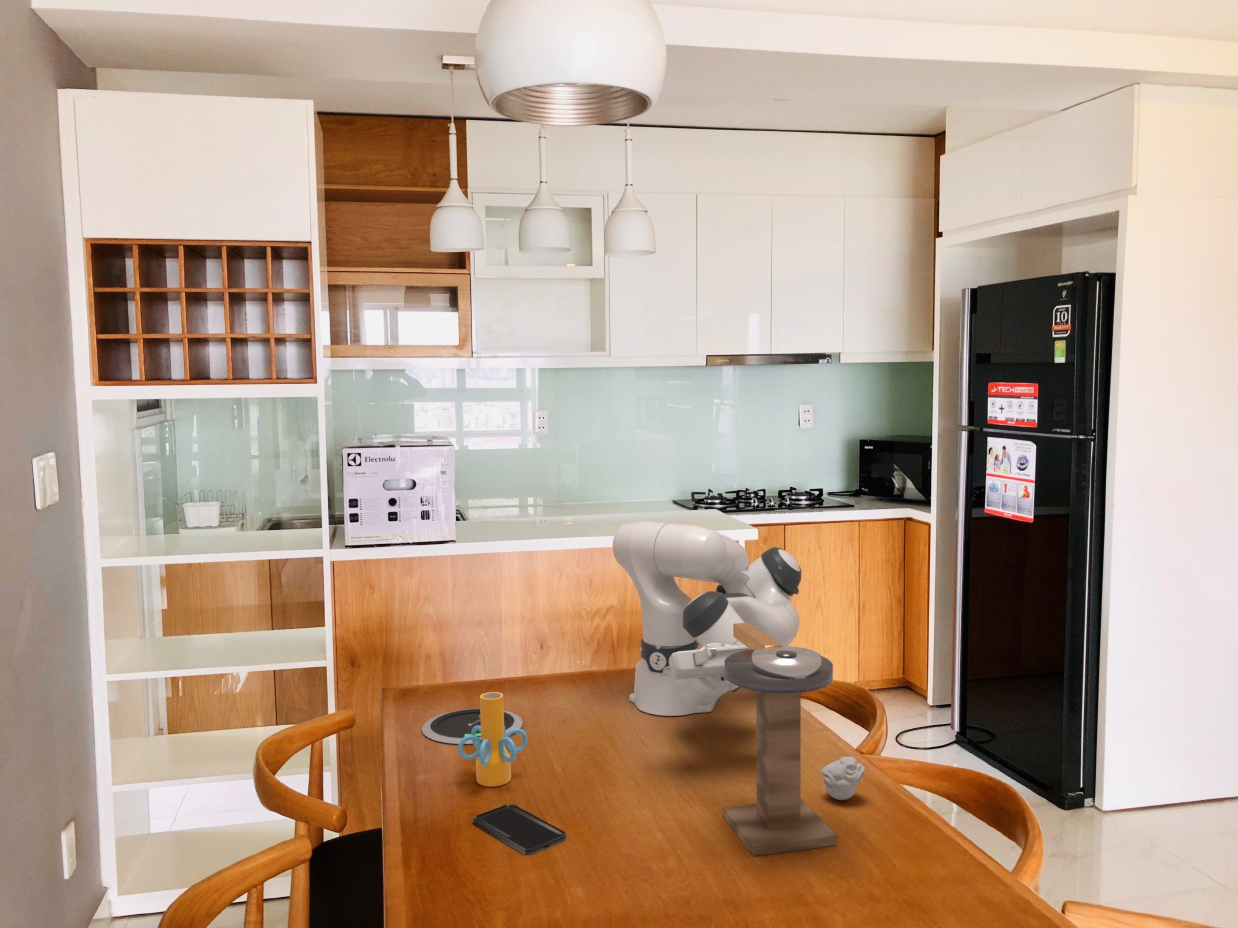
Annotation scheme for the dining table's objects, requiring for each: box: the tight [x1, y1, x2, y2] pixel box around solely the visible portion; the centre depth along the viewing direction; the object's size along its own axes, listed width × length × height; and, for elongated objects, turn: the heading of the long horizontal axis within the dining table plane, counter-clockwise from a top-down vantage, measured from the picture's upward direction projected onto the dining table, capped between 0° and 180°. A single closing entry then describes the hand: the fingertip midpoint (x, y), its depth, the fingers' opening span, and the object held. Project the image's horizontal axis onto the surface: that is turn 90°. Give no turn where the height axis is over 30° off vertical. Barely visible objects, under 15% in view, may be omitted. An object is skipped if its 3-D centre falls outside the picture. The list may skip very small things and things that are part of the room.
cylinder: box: [457, 691, 528, 788], centre depth 164 cm, size 12×10×15 cm
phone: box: [472, 803, 567, 856], centre depth 146 cm, size 8×1×15 cm
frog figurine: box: [820, 756, 866, 801], centre depth 155 cm, size 6×7×7 cm
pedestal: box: [722, 650, 838, 857], centre depth 144 cm, size 16×16×26 cm
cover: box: [733, 623, 822, 679], centre depth 146 cm, size 24×10×2 cm, turn 13°
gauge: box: [421, 708, 524, 746], centre depth 191 cm, size 20×20×1 cm
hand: (738, 649), depth 160 cm, fingers open, 8 cm apart
